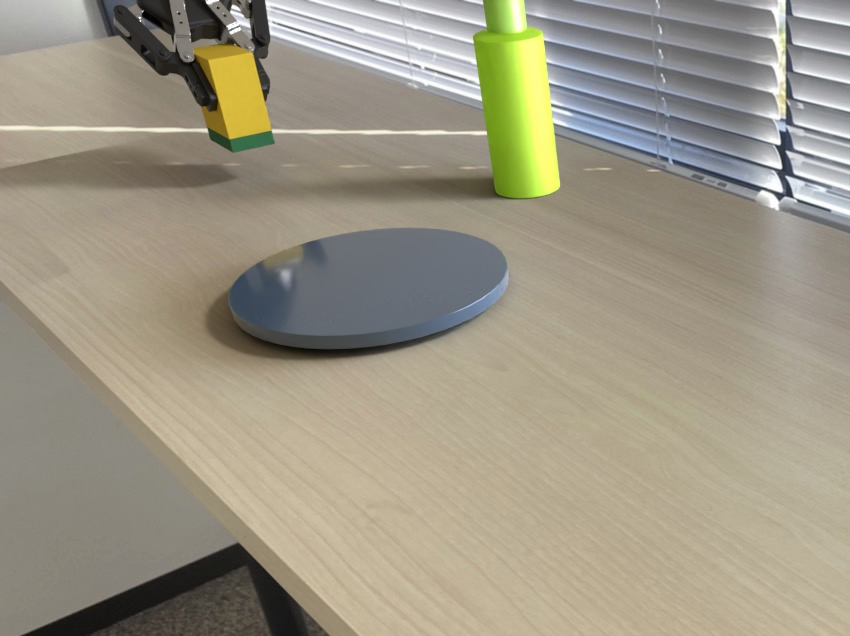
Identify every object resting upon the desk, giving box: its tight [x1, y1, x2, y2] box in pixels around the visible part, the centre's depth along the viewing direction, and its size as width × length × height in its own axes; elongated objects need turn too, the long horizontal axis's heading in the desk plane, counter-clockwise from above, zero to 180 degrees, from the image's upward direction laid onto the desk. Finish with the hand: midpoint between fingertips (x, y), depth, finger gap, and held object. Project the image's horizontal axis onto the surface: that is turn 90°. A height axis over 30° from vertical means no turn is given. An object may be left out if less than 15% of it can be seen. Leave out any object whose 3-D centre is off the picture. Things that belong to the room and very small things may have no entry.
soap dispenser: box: [472, 0, 561, 199], centre depth 99 cm, size 6×7×20 cm
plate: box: [227, 227, 510, 350], centre depth 86 cm, size 20×20×2 cm
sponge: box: [193, 43, 276, 154], centre depth 106 cm, size 4×6×8 cm
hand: (239, 100), depth 105 cm, fingers closed on sponge, 4 cm apart
